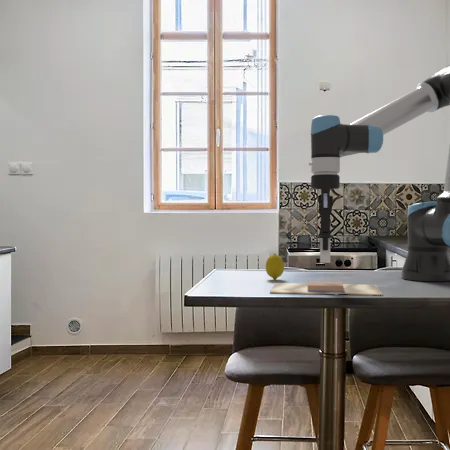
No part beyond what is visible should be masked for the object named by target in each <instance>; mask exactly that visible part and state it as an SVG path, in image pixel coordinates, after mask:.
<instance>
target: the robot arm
mask: <svg viewBox="0 0 450 450" xmlns="http://www.w3.org/2000/svg"><path fill="white" fill-rule="evenodd" d="M448 106H449V107H450V64H449V65H446V66H445V67H443V68H441V69H440V70H438V71H437V72H436V73H434V74H432V75H431V76H430V77H428V78H426V79H425V80H423V81H421V82H420V83H418V84H417V85H416V86H415V89H413V90H412V91H409V92H407V93H405V94H404V95H402V96H400V97H398V98H397V99H394V100H392V101H390V102H389V103H387V104H385V105H383V106H381V107H380V108H377V109H376V110H374V111H372V112H370V113H368V114H366V115H364V116H363V117H361V118H358V119H357V120H355V121H353V122H352V123H349V124H343V123H341V120H340V117H339V116H338V115H334V114H326V115H324V114H323V115H317V116H315V117H313V118H312V119H311V124H310V125H311V126H310V146H311V147H310V150H311V152H310V153H311V157H310V158H311V161H310V162H308V166H311V167H310V169H311V171H310V172H311V173H312V174H313V175H311V176H310V188H311V190H320V195H317V202H318V212H319V213H320V231H319V233H320V234H319V235H318V236H317V239H319V263H323V264H325V263H328V264H331V239H333V235H331V213H332V212H333V202H334V196H333V195H331V193H330V190H339V189H340V187H341V186H340V183H341V182H340V181H341V180H340V177H341V176H340V175H339V173H341V163H340V162H341V161H340V160H341V158H342V157H347V156H352V155H356V154H363V153H364V154H372V153H373V154H374V153H379V152H380V151H381V149H382V147H383V144H384V135H387V134H389V133H390V132H392V131H393V130H395V129H397V128H399V127H401V126H403V125H404V124H405V125H406V123H408V122H411V121H412V120H414V119H417V117H419V116H421V115H424V114H425V113H434V112H436V111H437V110H439V109H443V108H445V107H448ZM406 219H407V255H406V257H405V260H404V263H403V266H402V269H401V279H403V280H409V281H418V282H449V281H450V257H449V256H450V255H449V247H450V145H448V156H447V162H446V171H445V178H444V184H443V192H442V193H441V194H439V195H438V196H437V197H436V201H424V202H422V201H421V202H417V203H413V204H410V205H409V207H408V209H407V218H406Z"/></svg>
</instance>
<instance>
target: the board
mask: <svg viewBox="0 0 450 450" xmlns="http://www.w3.org/2000/svg"><path fill="white" fill-rule="evenodd" d="M269 294H270V295H271V294H276V295H278V294H279V295H280V294H282V295H320V294H335V295H336V296H339V295H338V294H348V295H347V296H372V295H377V296H378V295H379V296H380V295H381V297H382V296H384V294H383V292H382V291H381V290H380V289H379V287H378V286H377V284H359V283H358V284H353V283H352V284H351V283H350V284H349V283H348V284H347V283H343V292H308V283H301V282H300V283H299V282H298V283H297V282H294V283H293V282H292V283H289V282H288V283H287V282H275V283H274V285H273V286H272V288H271V290H270V292H269ZM349 294H350V295H349ZM335 295H334V296H335ZM377 296H376V297H377ZM379 296H378V297H379Z"/></svg>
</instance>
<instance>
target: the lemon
mask: <svg viewBox="0 0 450 450" xmlns="http://www.w3.org/2000/svg"><path fill="white" fill-rule="evenodd" d="M284 270H285V263H284V260H283V258H282V257H281V256H280V255H278V254H277V253H273V254H271V255H270V256H269V257H267V260H266V262H265V272H266V274H267V276H269V277H270V278H272V280H277V279H278V278H279V277H282V275H283V273H284Z"/></svg>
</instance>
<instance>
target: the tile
mask: <svg viewBox="0 0 450 450" xmlns="http://www.w3.org/2000/svg"><path fill="white" fill-rule="evenodd" d="M307 284H308V292H343V284H344V283H343V281H330V280H329V281H327V280H326V281H325V280H324V281H322V280H317V281H316V280H308V281H307Z"/></svg>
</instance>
